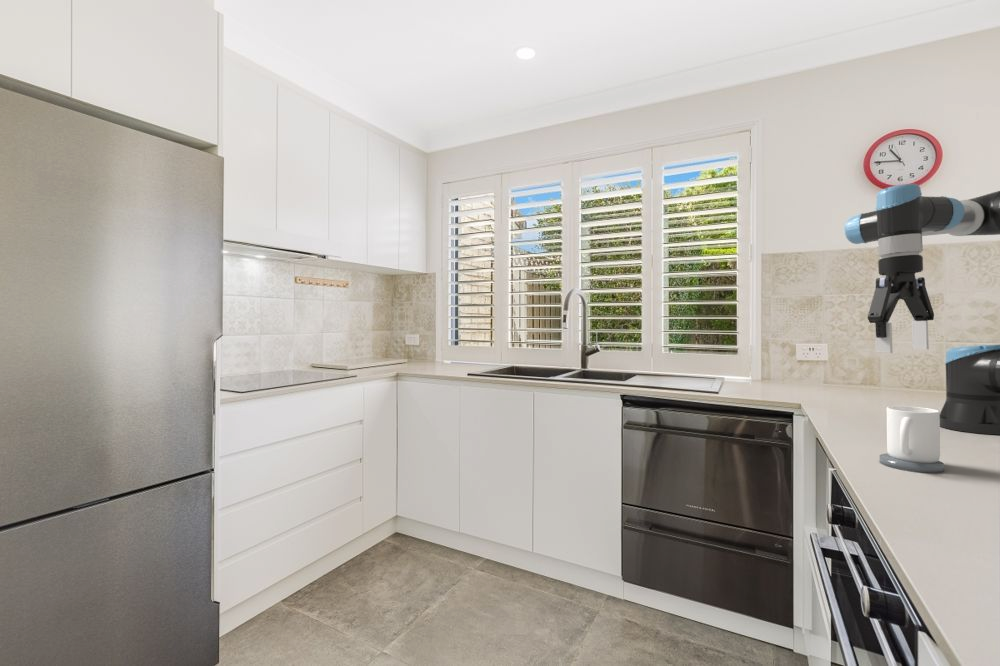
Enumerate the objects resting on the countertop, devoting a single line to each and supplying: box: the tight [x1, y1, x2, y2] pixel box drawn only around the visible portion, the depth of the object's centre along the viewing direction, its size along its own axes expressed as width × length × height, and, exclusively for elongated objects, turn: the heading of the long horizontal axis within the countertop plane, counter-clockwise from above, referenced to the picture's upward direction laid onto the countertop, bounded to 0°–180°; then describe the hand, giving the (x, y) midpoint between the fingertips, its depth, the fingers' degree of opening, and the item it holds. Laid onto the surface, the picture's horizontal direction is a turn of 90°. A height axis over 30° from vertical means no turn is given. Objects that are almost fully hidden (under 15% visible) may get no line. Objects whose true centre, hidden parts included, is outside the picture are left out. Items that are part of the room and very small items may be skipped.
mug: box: [886, 405, 941, 463], centre depth 96 cm, size 12×8×10 cm
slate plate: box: [879, 452, 945, 474], centre depth 96 cm, size 10×10×1 cm
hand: (902, 351), depth 103 cm, fingers open, 13 cm apart
